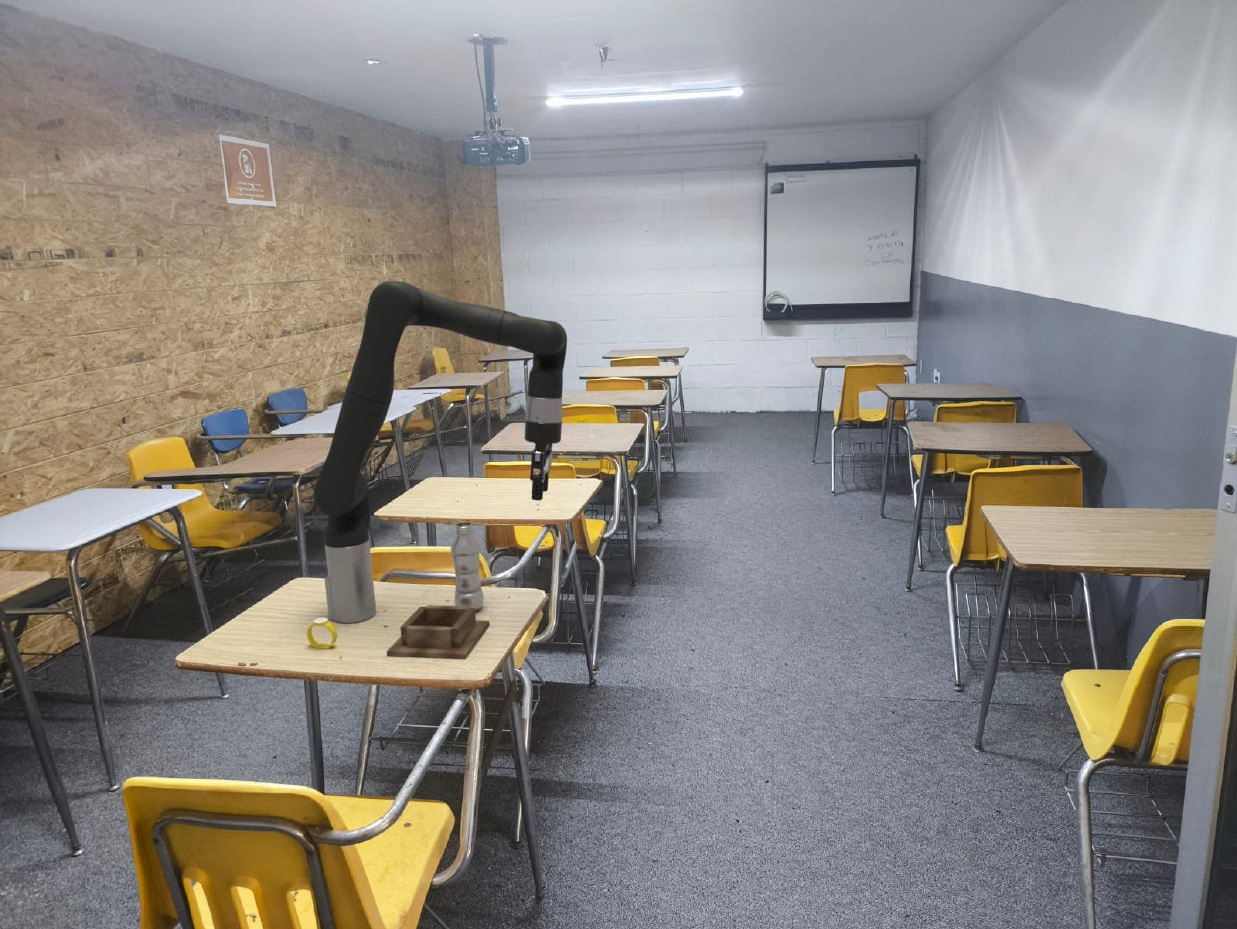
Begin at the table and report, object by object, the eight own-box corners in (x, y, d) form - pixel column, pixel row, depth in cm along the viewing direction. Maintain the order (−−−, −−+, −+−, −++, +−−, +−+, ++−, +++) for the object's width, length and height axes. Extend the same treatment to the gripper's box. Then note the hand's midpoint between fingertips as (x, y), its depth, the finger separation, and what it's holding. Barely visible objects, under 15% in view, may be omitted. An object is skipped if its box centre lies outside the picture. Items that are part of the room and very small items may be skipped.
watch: (339, 646, 161) (338, 619, 160) (332, 652, 159) (331, 624, 157) (312, 642, 162) (311, 615, 161) (305, 648, 160) (303, 621, 158)
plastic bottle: (487, 604, 180) (482, 520, 176) (479, 616, 174) (473, 528, 170) (460, 603, 181) (454, 520, 177) (451, 615, 175) (444, 528, 170)
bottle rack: (387, 656, 156) (384, 632, 154) (418, 623, 171) (416, 601, 170) (465, 659, 153) (463, 635, 152) (489, 625, 169) (488, 603, 168)
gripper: (530, 413, 170) (527, 487, 173) (520, 421, 156) (516, 501, 159) (565, 416, 170) (561, 490, 172) (558, 424, 156) (553, 504, 158)
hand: (539, 495), depth 165 cm, fingers open, 8 cm apart
